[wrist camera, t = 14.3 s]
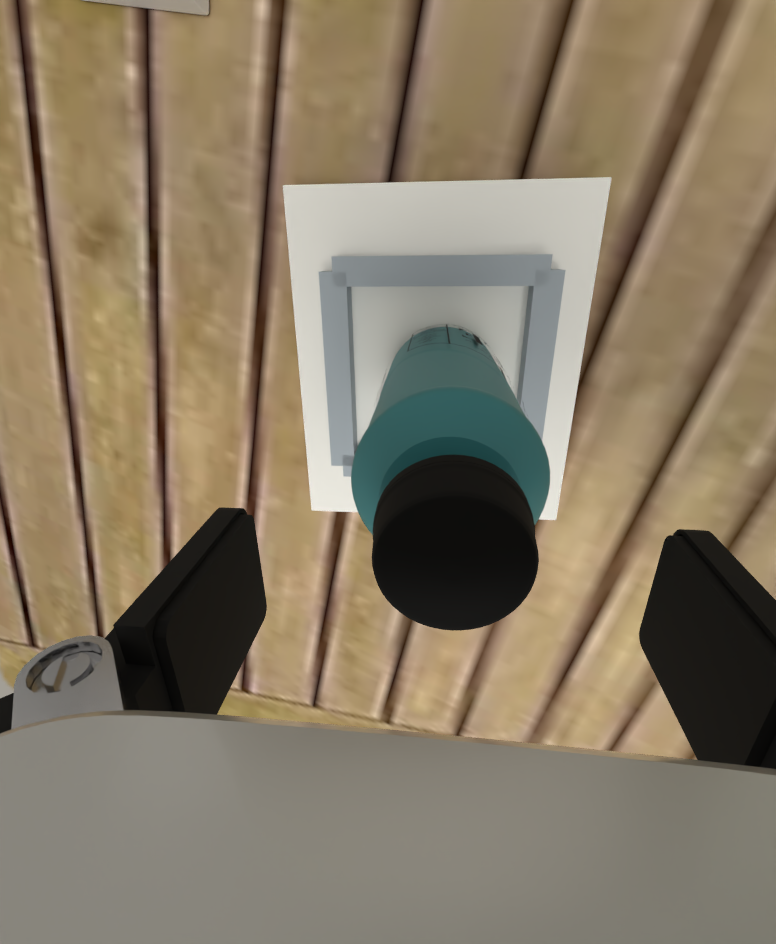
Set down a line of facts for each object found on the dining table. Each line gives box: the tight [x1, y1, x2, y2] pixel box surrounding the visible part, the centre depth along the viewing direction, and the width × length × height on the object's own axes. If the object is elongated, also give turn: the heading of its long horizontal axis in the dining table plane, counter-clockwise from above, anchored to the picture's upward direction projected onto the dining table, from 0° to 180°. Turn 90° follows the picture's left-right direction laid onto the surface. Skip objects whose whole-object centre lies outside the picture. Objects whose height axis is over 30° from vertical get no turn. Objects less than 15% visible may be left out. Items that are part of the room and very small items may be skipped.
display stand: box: [283, 177, 612, 520], centre depth 29 cm, size 17×20×4 cm
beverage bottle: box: [351, 324, 550, 630], centre depth 20 cm, size 6×7×20 cm
